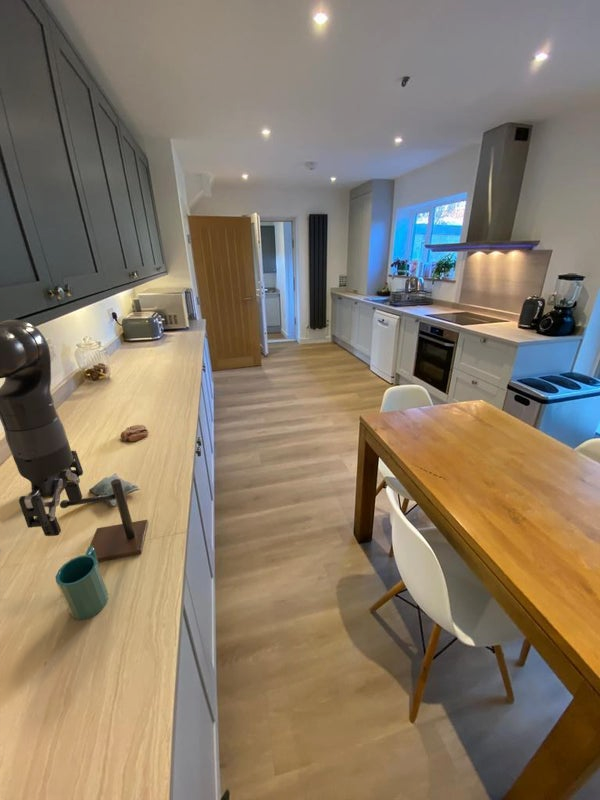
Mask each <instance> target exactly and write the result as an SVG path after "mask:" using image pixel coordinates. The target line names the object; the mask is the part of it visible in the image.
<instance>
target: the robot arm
mask: <svg viewBox="0 0 600 800" xmlns="http://www.w3.org/2000/svg"><path fill="white" fill-rule="evenodd" d="M51 360H52V358H51V352H50V347H49V344H48V341H47V340H46V338H45V336H44V335H43V333H42V332H41V331H40V330H39V329H38V327H36V326H35V325H34V324H32V323H30V322H28V321H25V320H21V319H7V320H4V321H0V379H4V381H3V383H2V385H1V386H0V422H1V426H2V427H3V431H4V436H5V441H6V443H7V447H8V448H9V450H10V453H11V456H12V458H13V461H14V463H15V466H16V468H17V471H18V473H19V475H20V476H21V477H22V478H24V479H26V480H27V481H29V482H30V486H31V487H30V489H31V490H30V492H29V494H27V495H22V496H20V497H19V499H18V504H19V506H20V509H21V512H22V515H23V517H24V520H25V524H26V527H27V528H29V529H30V528H40V527H41V530H42V532H43V534H44V536H45V537H57V536H59V535H60V534H61V533H62V529H61V526H60V524H59V521H58V518H57V516H56V511H57V507H58V506H60V503H61V501H60V500H61V494H62V492H63V490H65V494H66V496H67V500H68V501H71V502H74V501H80V500H81V499H83V494H82V491H81V487H80V481H81V479H80V477H82V476H83V474H84V470H83V467H82V464H81V461H80V458H79V455H78V453H77V451H76V450H72V449H71V445H70V443H69V439H68V436H67V433H66V429H65V426H64V424H63V422H62V420H61V418H60V416H59V413H58V409H57V406H56V404H55V401H54V397H53V395H52V390H51V389H52V361H51ZM72 468H74V469H72ZM43 498H44V499H43ZM45 499H52V500H51V501H45ZM45 508H48V512H47V511H46V509H45Z"/></svg>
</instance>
